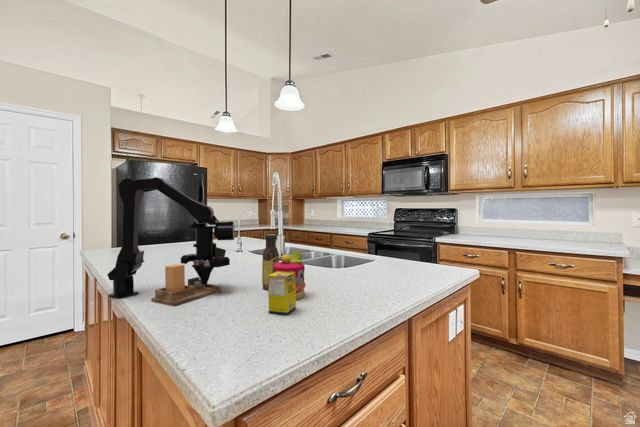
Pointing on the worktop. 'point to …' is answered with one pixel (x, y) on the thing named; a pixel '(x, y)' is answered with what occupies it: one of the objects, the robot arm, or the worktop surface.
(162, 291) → the housing
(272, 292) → the supplement box
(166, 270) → the block
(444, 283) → the worktop surface
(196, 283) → the bolt
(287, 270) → the cake
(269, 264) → the sauce bottle
